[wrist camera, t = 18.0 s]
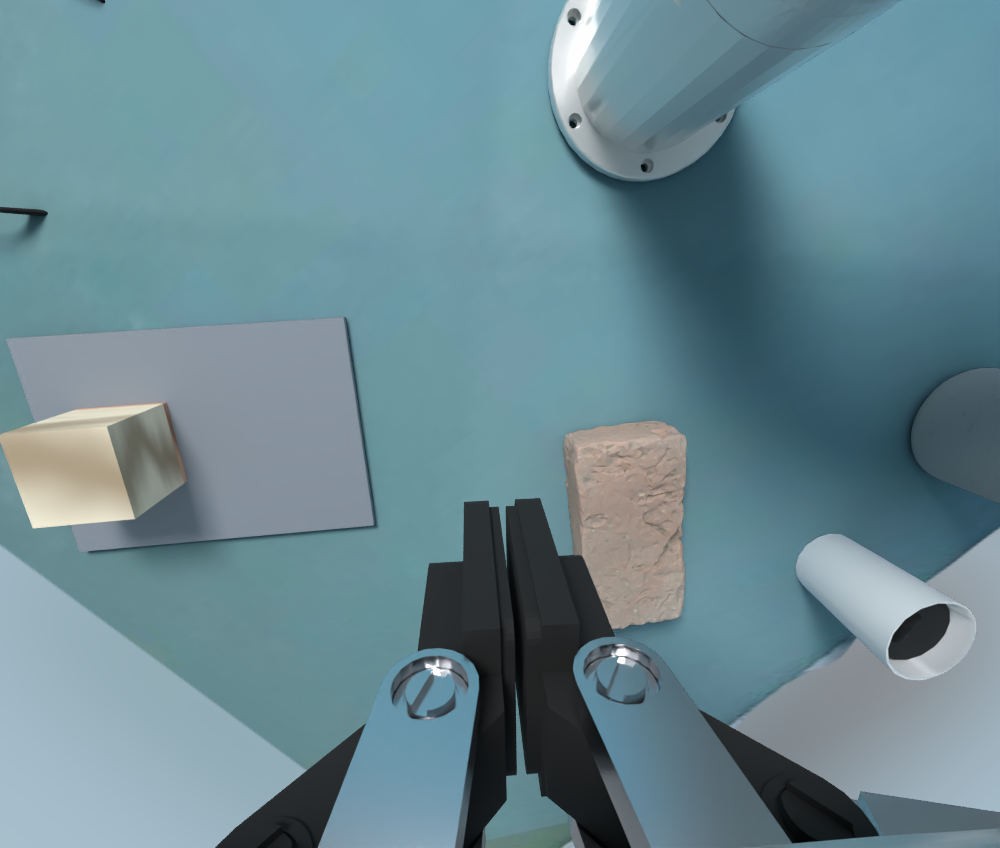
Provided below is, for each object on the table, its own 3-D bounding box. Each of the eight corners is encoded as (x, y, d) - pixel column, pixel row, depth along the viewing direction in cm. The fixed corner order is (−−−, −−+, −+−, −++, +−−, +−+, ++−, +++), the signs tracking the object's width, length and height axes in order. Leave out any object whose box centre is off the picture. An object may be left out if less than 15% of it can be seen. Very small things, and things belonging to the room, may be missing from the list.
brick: (666, 590, 43) (690, 625, 38) (574, 604, 43) (588, 641, 38) (662, 413, 38) (689, 430, 34) (559, 427, 38) (572, 446, 33)
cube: (106, 426, 28) (166, 402, 34) (-3, 435, 28) (76, 409, 33) (135, 519, 30) (187, 480, 36) (33, 528, 29) (102, 488, 35)
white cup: (788, 598, 44) (879, 686, 34) (793, 534, 42) (891, 608, 32) (857, 588, 44) (967, 673, 35) (866, 524, 42) (985, 594, 33)
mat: (14, 337, 32) (5, 338, 32) (345, 317, 34) (343, 317, 33) (85, 547, 37) (79, 551, 36) (375, 521, 38) (373, 525, 38)
